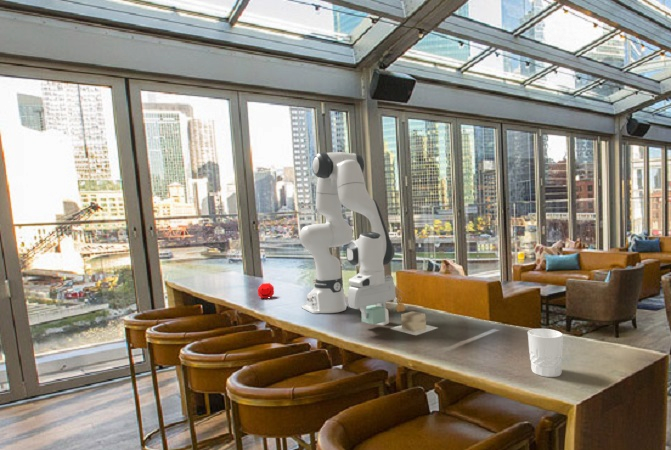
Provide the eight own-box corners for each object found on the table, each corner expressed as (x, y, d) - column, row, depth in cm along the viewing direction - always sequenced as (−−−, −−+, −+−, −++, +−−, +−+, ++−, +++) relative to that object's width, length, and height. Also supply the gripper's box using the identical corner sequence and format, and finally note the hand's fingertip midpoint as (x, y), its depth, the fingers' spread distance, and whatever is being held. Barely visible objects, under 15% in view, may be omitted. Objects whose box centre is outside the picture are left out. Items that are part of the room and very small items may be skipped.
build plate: (389, 331, 144) (389, 328, 144) (412, 324, 152) (412, 321, 152) (415, 338, 135) (415, 335, 135) (438, 330, 142) (438, 327, 142)
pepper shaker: (383, 328, 149) (382, 302, 149) (374, 326, 152) (373, 301, 151) (389, 325, 152) (388, 300, 152) (380, 324, 155) (379, 299, 154)
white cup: (555, 365, 106) (553, 328, 106) (570, 378, 98) (568, 337, 98) (524, 366, 107) (522, 329, 106) (536, 378, 99) (535, 338, 99)
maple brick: (401, 328, 144) (401, 314, 144) (413, 324, 148) (412, 311, 147) (414, 331, 139) (414, 317, 139) (426, 327, 143) (425, 313, 143)
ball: (258, 300, 213) (257, 285, 213) (259, 297, 221) (258, 283, 221) (273, 299, 213) (272, 284, 213) (274, 296, 221) (273, 282, 221)
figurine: (411, 313, 169) (410, 284, 168) (404, 316, 164) (402, 286, 164) (395, 310, 174) (393, 283, 174) (387, 313, 170) (385, 285, 169)
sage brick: (361, 321, 146) (361, 307, 145) (373, 318, 149) (373, 304, 149) (373, 324, 141) (372, 310, 141) (385, 321, 144) (384, 307, 144)
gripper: (386, 273, 153) (387, 309, 154) (344, 280, 141) (346, 320, 141) (398, 275, 148) (400, 312, 149) (356, 283, 136) (357, 323, 136)
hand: (373, 316), depth 145 cm, fingers closed on sage brick, 6 cm apart
